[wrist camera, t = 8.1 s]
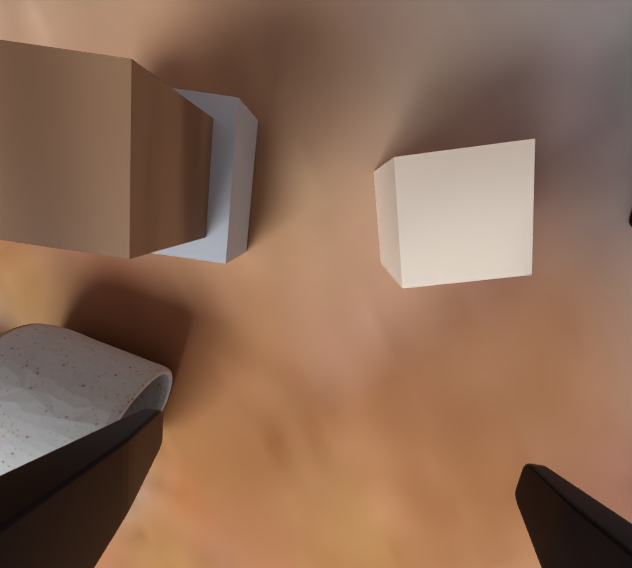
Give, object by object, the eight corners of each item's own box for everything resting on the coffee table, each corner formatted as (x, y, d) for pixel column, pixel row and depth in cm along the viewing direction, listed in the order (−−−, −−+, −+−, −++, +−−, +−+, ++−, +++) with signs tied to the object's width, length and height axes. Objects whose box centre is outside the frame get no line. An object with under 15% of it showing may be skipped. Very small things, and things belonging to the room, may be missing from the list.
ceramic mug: (59, 298, 21) (-96, 355, 13) (186, 346, 21) (106, 428, 14) (31, 434, 23) (-110, 546, 16) (145, 475, 24) (59, 602, 16)
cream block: (468, 159, 18) (535, 138, 12) (470, 252, 19) (531, 274, 13) (373, 171, 18) (393, 156, 12) (380, 262, 19) (402, 288, 14)
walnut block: (213, 118, 14) (131, 59, 8) (205, 237, 15) (129, 258, 9) (95, 101, 14) (-70, 29, 8) (96, 221, 15) (-47, 232, 9)
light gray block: (258, 120, 18) (238, 96, 14) (246, 251, 19) (225, 263, 16) (127, 101, 18) (70, 73, 14) (126, 234, 19) (75, 241, 16)
